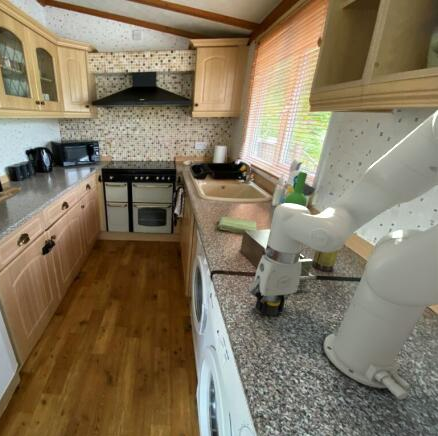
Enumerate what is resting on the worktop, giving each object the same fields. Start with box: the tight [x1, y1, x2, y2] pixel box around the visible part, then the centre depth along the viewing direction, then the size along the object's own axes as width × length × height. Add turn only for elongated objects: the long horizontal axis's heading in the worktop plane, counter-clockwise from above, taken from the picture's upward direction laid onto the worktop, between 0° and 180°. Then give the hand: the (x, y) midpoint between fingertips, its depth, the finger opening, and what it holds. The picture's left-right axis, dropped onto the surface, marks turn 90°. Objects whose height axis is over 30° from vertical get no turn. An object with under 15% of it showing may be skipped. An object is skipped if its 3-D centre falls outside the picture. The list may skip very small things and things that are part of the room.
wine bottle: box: [283, 171, 308, 208], centre depth 101 cm, size 8×8×30 cm
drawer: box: [299, 253, 317, 282], centre depth 81 cm, size 18×11×7 cm, turn 9°
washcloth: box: [217, 216, 258, 235], centre depth 117 cm, size 13×18×3 cm
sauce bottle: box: [312, 249, 340, 271], centre depth 84 cm, size 6×6×20 cm
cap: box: [263, 295, 281, 317], centre depth 67 cm, size 4×4×4 cm
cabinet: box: [240, 228, 270, 269], centre depth 90 cm, size 15×13×9 cm
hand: (268, 308), depth 68 cm, fingers closed on cap, 4 cm apart
